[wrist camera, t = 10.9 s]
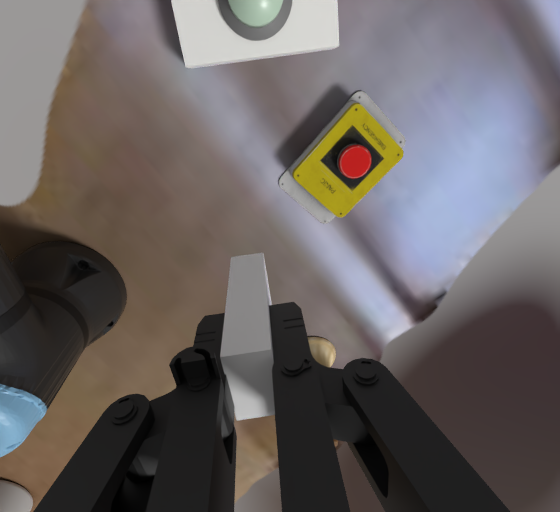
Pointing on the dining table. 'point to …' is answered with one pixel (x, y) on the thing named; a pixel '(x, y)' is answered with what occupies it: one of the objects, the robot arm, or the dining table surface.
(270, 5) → the sage-green button
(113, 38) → the dining table surface
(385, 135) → the emergency button
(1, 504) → the cylinder vase
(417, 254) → the dining table surface
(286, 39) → the button panel
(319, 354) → the hand bell
